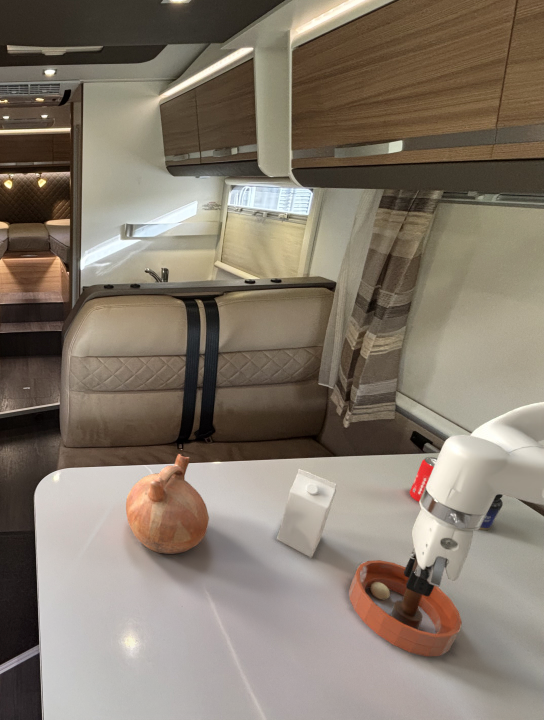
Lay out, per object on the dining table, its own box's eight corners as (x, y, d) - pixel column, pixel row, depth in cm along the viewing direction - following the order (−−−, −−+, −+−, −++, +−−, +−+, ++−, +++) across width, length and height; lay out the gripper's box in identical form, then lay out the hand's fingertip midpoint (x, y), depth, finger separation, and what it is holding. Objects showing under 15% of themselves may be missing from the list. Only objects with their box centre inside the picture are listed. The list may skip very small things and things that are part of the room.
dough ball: (385, 594, 86) (391, 584, 85) (387, 605, 83) (392, 595, 82) (367, 586, 87) (372, 575, 86) (368, 597, 85) (373, 586, 84)
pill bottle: (454, 523, 103) (471, 487, 99) (454, 509, 107) (470, 474, 103) (490, 537, 99) (509, 500, 95) (488, 522, 103) (507, 486, 99)
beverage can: (416, 506, 108) (432, 468, 104) (403, 492, 113) (418, 455, 108) (439, 509, 107) (457, 470, 103) (425, 494, 112) (441, 457, 107)
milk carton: (285, 524, 103) (303, 461, 96) (319, 541, 98) (340, 476, 91) (275, 541, 99) (293, 476, 91) (310, 560, 94) (332, 493, 87)
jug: (175, 585, 89) (187, 511, 81) (107, 533, 101) (112, 465, 94) (217, 537, 100) (232, 468, 92) (152, 495, 113) (160, 432, 105)
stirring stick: (419, 620, 80) (439, 560, 75) (418, 636, 78) (439, 575, 72) (391, 607, 83) (409, 549, 78) (390, 623, 80) (408, 563, 75)
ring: (440, 605, 84) (451, 584, 82) (457, 677, 72) (471, 655, 70) (347, 568, 92) (354, 548, 90) (349, 628, 80) (358, 607, 78)
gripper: (497, 551, 62) (452, 634, 69) (470, 486, 74) (435, 562, 81) (430, 529, 66) (394, 610, 73) (415, 470, 78) (385, 544, 85)
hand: (416, 584), depth 77 cm, fingers closed on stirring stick, 2 cm apart
